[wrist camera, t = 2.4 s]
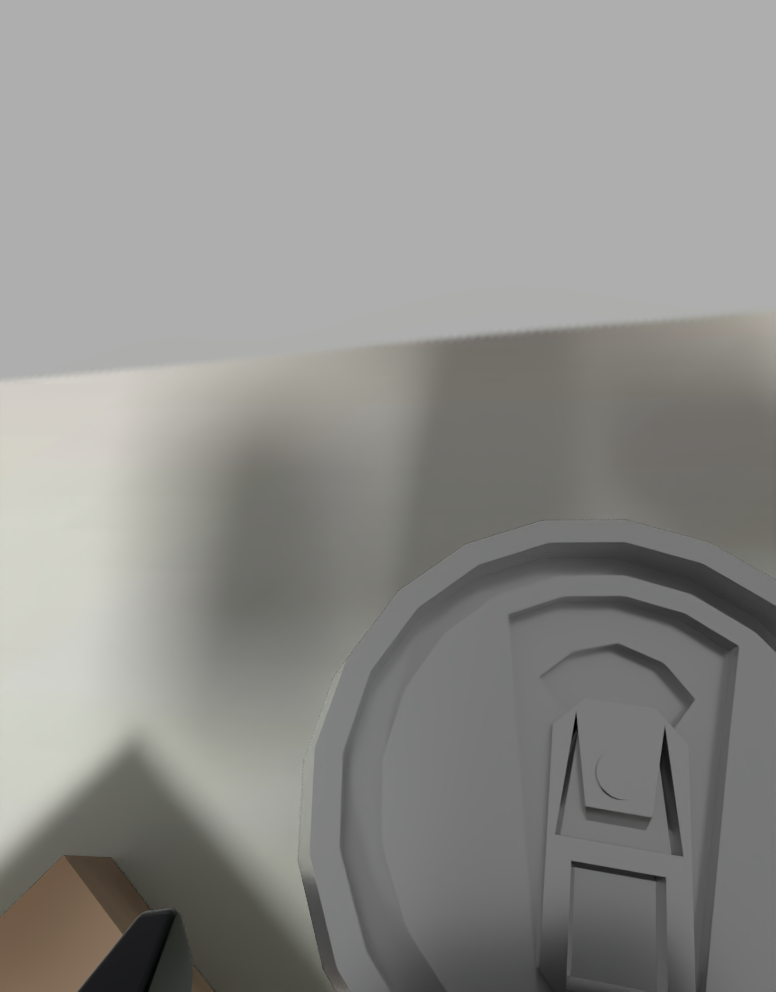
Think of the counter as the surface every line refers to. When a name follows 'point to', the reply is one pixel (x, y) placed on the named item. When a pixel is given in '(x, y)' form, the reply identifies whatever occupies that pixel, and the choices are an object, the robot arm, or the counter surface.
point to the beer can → (552, 773)
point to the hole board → (68, 926)
